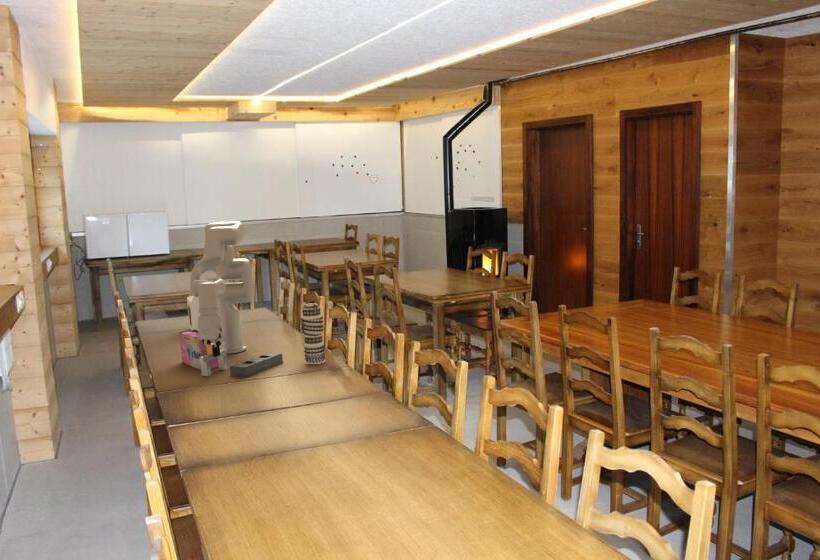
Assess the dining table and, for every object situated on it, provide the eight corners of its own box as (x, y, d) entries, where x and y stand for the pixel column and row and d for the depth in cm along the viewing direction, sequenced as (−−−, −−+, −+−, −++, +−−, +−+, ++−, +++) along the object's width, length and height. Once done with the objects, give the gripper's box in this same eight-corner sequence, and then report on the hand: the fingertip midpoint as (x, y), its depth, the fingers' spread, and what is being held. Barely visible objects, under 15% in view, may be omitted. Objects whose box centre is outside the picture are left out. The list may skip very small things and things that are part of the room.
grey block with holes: (230, 375, 302) (229, 366, 302) (267, 361, 323) (267, 352, 323) (245, 377, 299) (245, 367, 298) (282, 362, 320) (282, 353, 319)
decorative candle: (322, 365, 311) (318, 305, 308) (301, 365, 313) (296, 306, 310) (329, 359, 320) (324, 301, 317) (308, 359, 322) (304, 302, 318)
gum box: (180, 361, 332) (177, 331, 330) (197, 358, 337) (194, 328, 335) (202, 370, 313) (199, 339, 311) (220, 367, 318) (217, 335, 316)
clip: (200, 376, 304) (197, 347, 302) (223, 367, 316) (221, 339, 314) (206, 377, 302) (203, 348, 300) (229, 368, 314) (226, 340, 313)
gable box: (189, 328, 408) (184, 277, 405) (214, 325, 413) (210, 275, 409) (193, 336, 388) (188, 282, 384) (219, 332, 392) (214, 279, 389)
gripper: (187, 312, 306) (191, 356, 309) (218, 314, 298) (222, 359, 301) (200, 309, 312) (204, 352, 315) (231, 310, 305) (235, 354, 307)
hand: (213, 355), depth 308 cm, fingers closed on clip, 3 cm apart
